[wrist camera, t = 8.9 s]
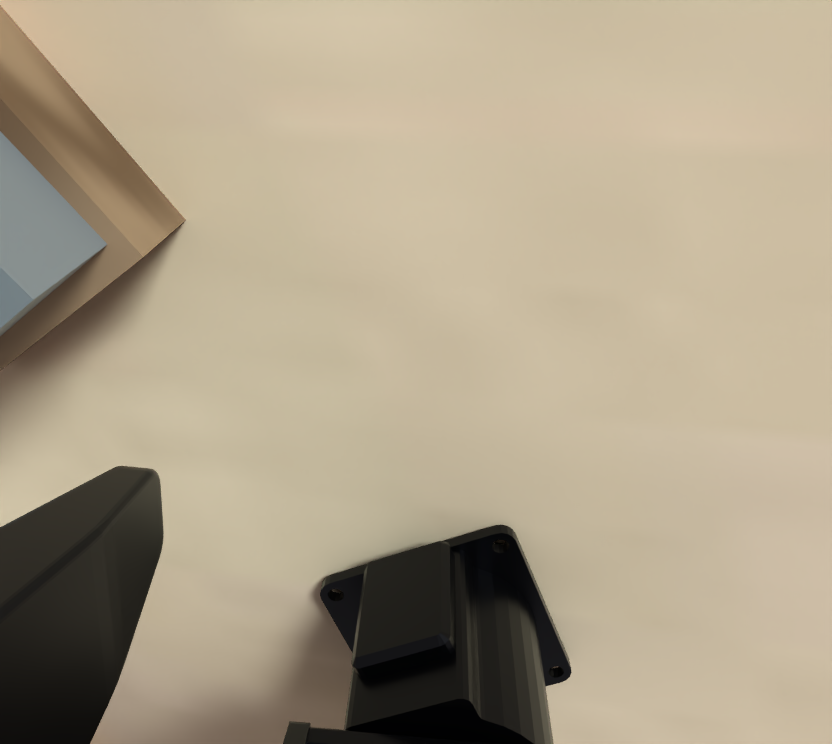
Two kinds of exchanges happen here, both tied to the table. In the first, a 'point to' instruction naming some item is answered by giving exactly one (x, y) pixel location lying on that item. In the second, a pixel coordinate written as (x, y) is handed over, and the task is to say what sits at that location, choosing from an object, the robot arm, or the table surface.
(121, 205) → the lower block
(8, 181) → the upper block
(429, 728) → the robot arm
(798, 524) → the table surface
